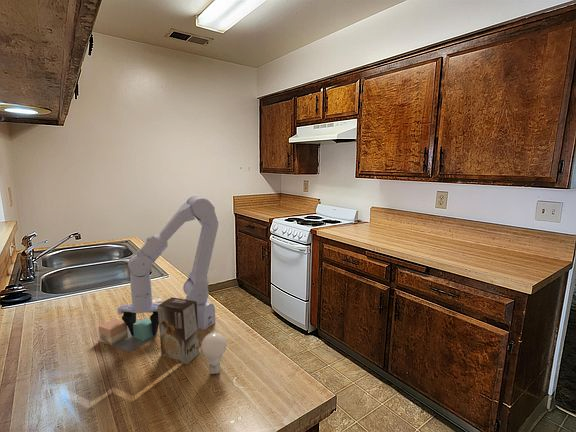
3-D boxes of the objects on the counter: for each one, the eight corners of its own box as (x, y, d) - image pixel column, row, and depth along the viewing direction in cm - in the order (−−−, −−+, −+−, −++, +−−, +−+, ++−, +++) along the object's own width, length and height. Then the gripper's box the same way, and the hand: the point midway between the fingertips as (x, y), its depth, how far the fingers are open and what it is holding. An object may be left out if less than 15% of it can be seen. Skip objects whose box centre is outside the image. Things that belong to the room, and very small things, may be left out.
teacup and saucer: (163, 301, 131) (163, 292, 130) (153, 310, 123) (153, 300, 122) (143, 300, 132) (142, 291, 131) (132, 309, 124) (131, 299, 123)
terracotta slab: (127, 329, 100) (126, 321, 100) (111, 337, 96) (110, 329, 95) (115, 325, 103) (115, 318, 102) (99, 333, 98) (98, 326, 98)
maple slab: (128, 336, 101) (127, 329, 100) (111, 345, 96) (111, 337, 96) (116, 332, 103) (115, 325, 103) (100, 341, 98) (99, 333, 98)
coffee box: (200, 352, 94) (198, 300, 91) (186, 365, 88) (183, 310, 85) (175, 346, 97) (172, 296, 94) (160, 358, 91) (156, 305, 89)
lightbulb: (206, 365, 88) (204, 327, 86) (229, 365, 88) (228, 328, 86) (199, 380, 81) (197, 340, 80) (224, 381, 81) (222, 340, 80)
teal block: (155, 334, 102) (154, 320, 102) (143, 340, 98) (142, 327, 98) (145, 331, 104) (144, 318, 104) (133, 337, 100) (132, 324, 100)
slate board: (159, 337, 102) (159, 334, 102) (128, 355, 92) (128, 352, 92) (129, 328, 108) (129, 325, 108) (97, 344, 99) (97, 341, 98)
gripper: (169, 288, 103) (172, 327, 105) (124, 288, 103) (127, 328, 105) (161, 296, 96) (164, 338, 98) (112, 297, 96) (116, 339, 98)
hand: (144, 334), depth 101 cm, fingers closed on teal block, 6 cm apart
